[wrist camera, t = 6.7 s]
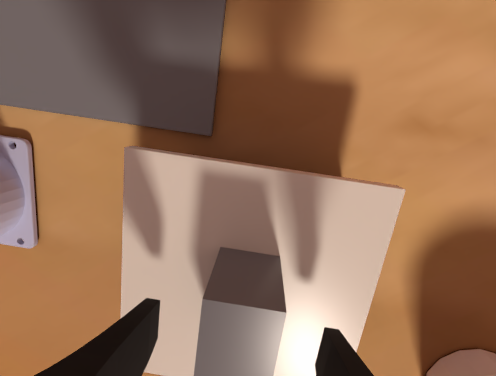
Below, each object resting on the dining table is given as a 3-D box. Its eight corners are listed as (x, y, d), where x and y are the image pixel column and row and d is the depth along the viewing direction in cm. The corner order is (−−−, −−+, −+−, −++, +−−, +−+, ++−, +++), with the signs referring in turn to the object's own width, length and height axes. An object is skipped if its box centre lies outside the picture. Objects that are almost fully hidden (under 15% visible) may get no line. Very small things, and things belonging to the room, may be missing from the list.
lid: (126, 356, 16) (71, 450, 12) (132, 145, 13) (60, 159, 8) (336, 391, 16) (365, 502, 11) (397, 185, 13) (473, 222, 8)
